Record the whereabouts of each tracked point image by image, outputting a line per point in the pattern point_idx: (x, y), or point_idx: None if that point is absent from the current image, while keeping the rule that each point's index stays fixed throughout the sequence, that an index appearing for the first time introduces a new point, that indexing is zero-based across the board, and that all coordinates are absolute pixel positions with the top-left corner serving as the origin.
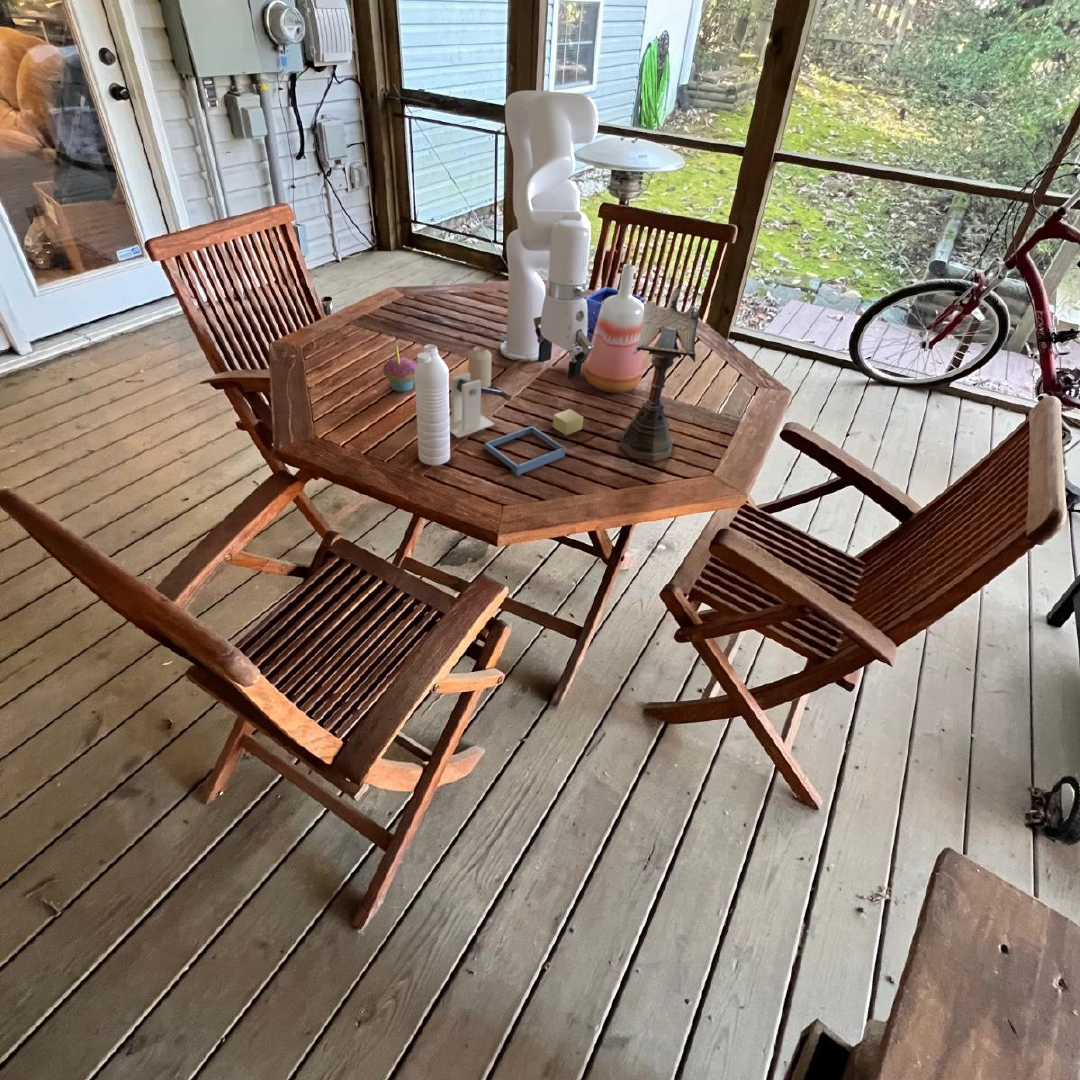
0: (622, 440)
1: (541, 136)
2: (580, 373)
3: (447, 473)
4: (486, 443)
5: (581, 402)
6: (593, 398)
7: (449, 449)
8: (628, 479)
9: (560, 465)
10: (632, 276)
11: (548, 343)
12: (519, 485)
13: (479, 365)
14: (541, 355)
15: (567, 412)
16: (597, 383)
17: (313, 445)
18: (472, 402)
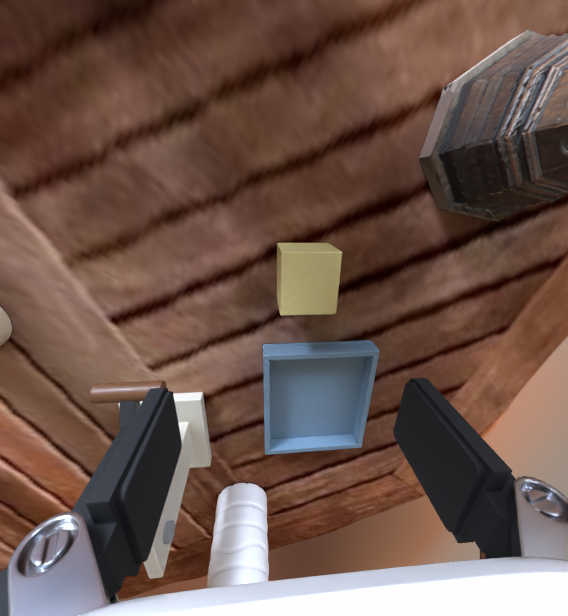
0: (454, 204)
1: None
2: (433, 388)
3: (283, 495)
4: (268, 453)
5: (189, 98)
6: (183, 21)
7: (254, 503)
8: (513, 289)
9: (385, 363)
10: None
11: (119, 521)
12: (375, 440)
13: None
14: (170, 483)
15: (294, 275)
16: None
17: (125, 580)
18: (175, 496)
